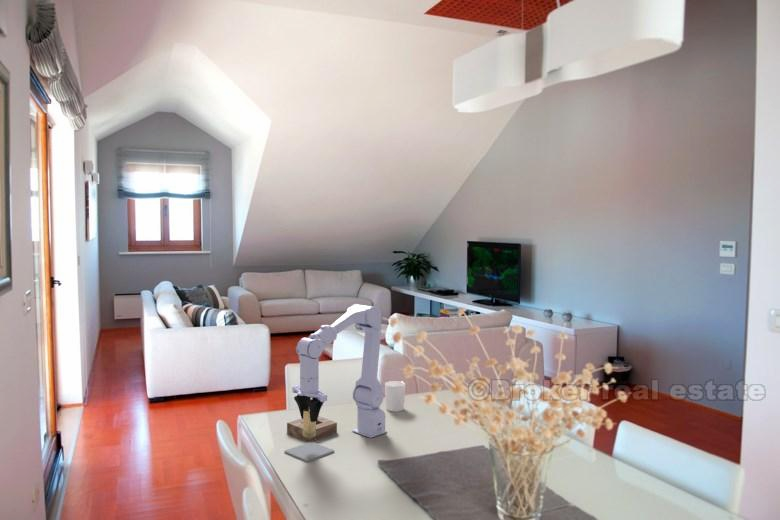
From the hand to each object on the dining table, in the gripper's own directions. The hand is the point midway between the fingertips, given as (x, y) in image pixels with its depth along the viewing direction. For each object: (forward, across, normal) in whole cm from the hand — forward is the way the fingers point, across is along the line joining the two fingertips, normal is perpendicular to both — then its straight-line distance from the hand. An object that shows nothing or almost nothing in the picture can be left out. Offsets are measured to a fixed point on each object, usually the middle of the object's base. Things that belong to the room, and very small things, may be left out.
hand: (309, 419), depth 188 cm
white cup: (+11, -10, +51) cm, 53 cm away
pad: (+10, 0, 0) cm, 10 cm away
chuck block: (+10, -13, +12) cm, 20 cm away
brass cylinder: (+5, 0, 0) cm, 5 cm away
